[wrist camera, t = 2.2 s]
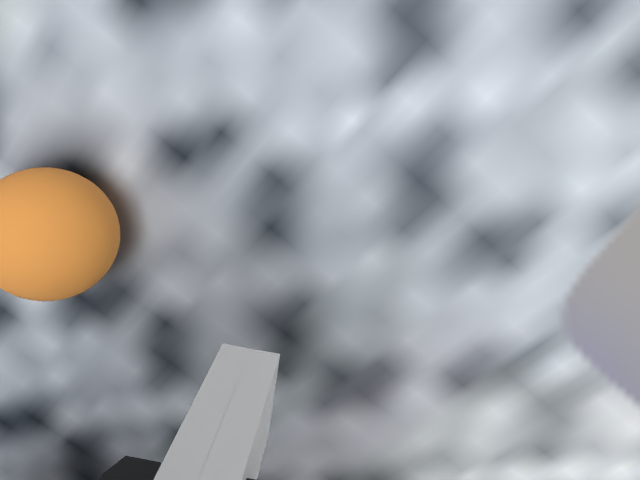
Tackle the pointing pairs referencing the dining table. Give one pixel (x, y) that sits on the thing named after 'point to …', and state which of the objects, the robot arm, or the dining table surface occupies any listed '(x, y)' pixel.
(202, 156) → the dining table surface
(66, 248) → the ball
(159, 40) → the dining table surface
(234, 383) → the robot arm
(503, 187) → the dining table surface
